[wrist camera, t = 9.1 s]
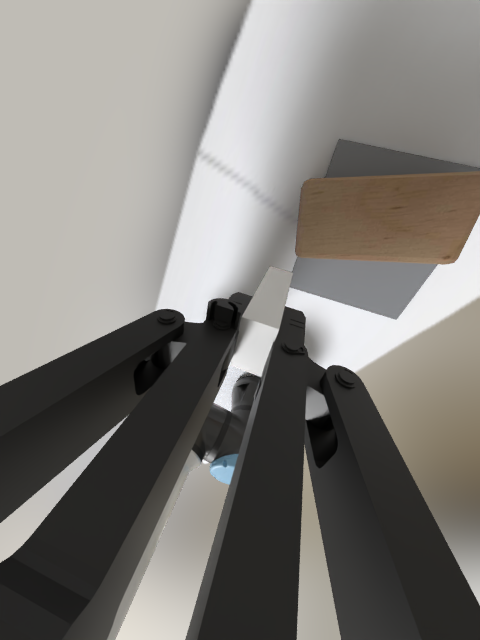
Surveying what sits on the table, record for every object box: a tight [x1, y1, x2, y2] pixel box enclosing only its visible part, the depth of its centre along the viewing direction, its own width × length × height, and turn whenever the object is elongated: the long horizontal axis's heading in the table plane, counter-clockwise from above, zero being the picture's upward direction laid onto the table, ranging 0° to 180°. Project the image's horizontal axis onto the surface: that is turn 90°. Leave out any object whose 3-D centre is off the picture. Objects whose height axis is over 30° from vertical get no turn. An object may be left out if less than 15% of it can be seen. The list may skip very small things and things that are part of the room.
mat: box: [290, 139, 480, 320], centre depth 37 cm, size 24×22×1 cm
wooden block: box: [295, 171, 480, 264], centre depth 31 cm, size 10×10×20 cm
